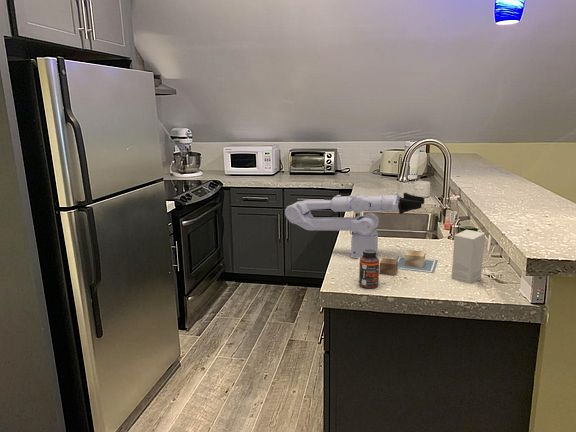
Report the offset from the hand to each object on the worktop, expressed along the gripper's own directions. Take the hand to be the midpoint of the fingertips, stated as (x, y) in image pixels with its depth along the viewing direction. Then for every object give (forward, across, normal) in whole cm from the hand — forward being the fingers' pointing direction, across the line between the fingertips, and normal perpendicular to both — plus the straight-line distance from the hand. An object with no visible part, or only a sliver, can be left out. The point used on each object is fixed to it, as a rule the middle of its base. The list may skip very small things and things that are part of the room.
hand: (422, 202), depth 155 cm
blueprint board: (-3, -6, +22) cm, 22 cm away
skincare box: (+14, -14, +23) cm, 30 cm away
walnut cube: (-10, -17, +21) cm, 29 cm away
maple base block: (-3, -6, +20) cm, 22 cm away
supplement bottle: (-13, -28, +21) cm, 37 cm away
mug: (-19, +128, +21) cm, 131 cm away
